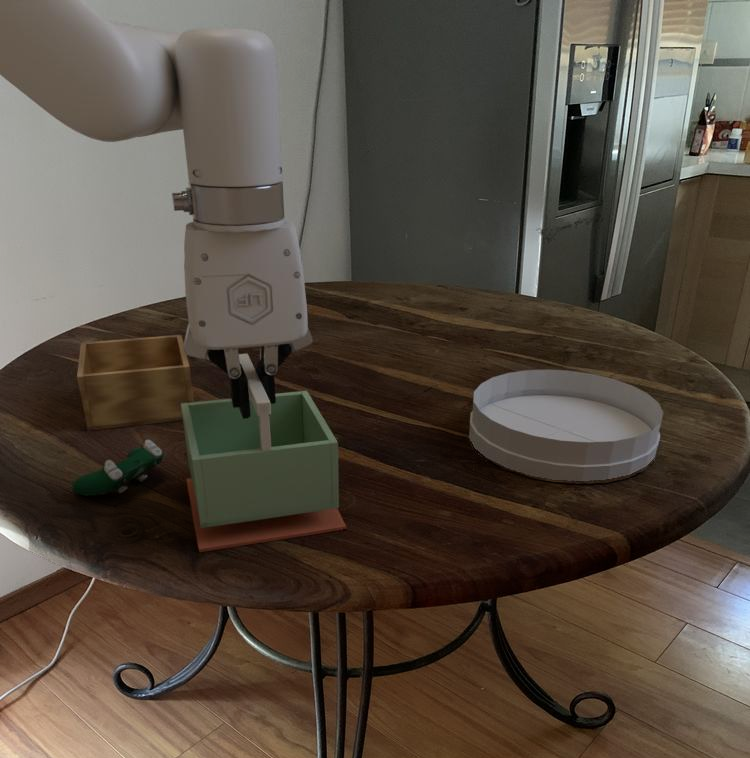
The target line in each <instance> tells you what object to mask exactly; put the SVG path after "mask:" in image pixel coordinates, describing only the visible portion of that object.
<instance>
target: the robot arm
mask: <svg viewBox="0 0 750 758" xmlns="http://www.w3.org/2000/svg"><path fill="white" fill-rule="evenodd" d="M277 61H278V60H277V53H276V49H275V45H274V43H273V41H272V40H271V38H270V37H269V36H268V35H267V34H266V33H264V32H262V31H260V30H257V29H251V28H239V27H238V28H236V27H198V28H197V27H196V28H191V29H190V28H189V29H187V30H185V31H183V32H181V33H178V32H171V31H164V30H161V29H160V30H159V29H155V28H149V27H145V26H144V27H143V26H138V25H134V24H129V23H124V22H120V21H119V22H118V21H112V20H108V19H106V18H105V17H104V16H102V15H101V14H100V13H98V12H97V11H96V10H95V9H94V8H92V7H91V6H90V5H88V4H87V3H86V2H85V1H84V0H0V76H1V77H2V78H3V79H5V80H6V81H7V82H8V83H10V84H11V85H12V86H14V87H15V88H16V89H18V91H20V92H21V93H23V94H24V95H25V96H26V97H27V98H29V99H30V100H31V101H32V102H34V103H35V104H36V105H38V107H40V108H42V110H44V111H45V112H46V113H48V114H49V115H50V116H51V117H53V118H54V119H55V120H57V121H59V122H60V123H62V124H63V125H64V126H66V127H68V128H69V129H71V130H73V131H74V132H76V133H78V134H80V135H83V136H84V137H87V138H90V139H91V140H92V139H93V140H96V141H101V142H105V143H106V142H107V143H116V142H122V141H127V140H132V139H135V138H141V137H142V138H143V137H148V136H153V135H157V134H161V133H168V132H173V131H181V130H183V141H184V149H185V151H184V152H185V159H186V169H187V177H188V182H187V183H188V187H185V190H181V191H180V192H172V193H171V197H172V206H173V212H177V211H179V212H180V211H183V213H188V214H189V216H192V221H190V222H188V223H186V225H185V230H184V240H183V241H184V243H183V245H184V246H183V250H184V252H183V253H184V261H183V262H184V264H183V265H184V267H183V269H184V270H183V271H184V272H183V273H184V289H185V304H186V315H187V321H188V323H187V328H186V331H185V336H184V339H183V343H184V344H183V348H184V352H185V354H186V355H187V357H192V358H195V359H200V360H204V361H205V360H206V361H209V362H211V363H212V364H214V365H215V366H217V367H218V368H219V369H221V370H222V371H223V372H224V373H225V374H227V375H228V377H229V378H228V379H229V387H230V397H231V398H230V399H231V400H232V405H233V408H237V407H239V409H240V412H241V415H242V417H243V419H247V418H249V417H251V414H250V402H249V393H248V379H247V377H246V375H245V372H244V370H243V367H242V365H241V364H240V360H239V354H240V353H239V349H244V348H245V349H246V348H256V347H257V348H258V347H259V361H258V362H257V365H256V368H255V367H254V369H255V371H256V373H257V375H258V377H259V379H260V381H261V383H262V386H263V388H264V390H265V392H266V394H267V396H268V398H269V400H270V404H274V403H276V396H275V394H276V383H275V381H276V380H275V375H276V374H277V373H278V371H279V368H280V366H281V365H282V364H284V362H285V361H286V360H287V359H288V357H289V356H290V355H291V354H292V353H294V352H298V351H301V350H303V349H305V348H307V347H310V346H311V345H312V344H313V342H314V338H313V335H312V333H311V330H310V328H309V325H308V324H309V318H308V305H307V296H306V285H305V276H304V275H305V274H304V267H303V261H302V253H301V247H300V243H299V238H298V237H299V236H298V233H297V228H296V225H295V223H294V222H292V221H291V220H289V219H286V218H285V202H284V201H285V199H284V182H283V179H284V178H283V162H282V143H281V142H282V141H281V123H280V122H281V121H280V103H279V102H280V101H279V80H278V63H277ZM270 415H271V414H270ZM270 415H269V416H270Z"/></svg>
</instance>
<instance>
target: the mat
mask: <svg viewBox="0 0 750 758" xmlns="http://www.w3.org/2000/svg"><path fill="white" fill-rule="evenodd" d="M185 480H186V486H187V491H188V497H189V502H190V509H191V514H192V521H193V526H194V532H195V536H196V543H197V548H198V552H199V553H204V552H210V551H217V550H218V551H219V550H224V549H231V548H237V547H243V546H250V545H255V544H256V545H257V544H261V543H268V542H269V543H270V542H276V541H281V540H287V539H293V538H300V537H307V536H313V535H319V534H326V533H333V532H339V530H340V531H344V530H343V529H346V530H347V525H346V523H345V521H344V519H343V518H342V515H341V513H340V511H339V508H335V509H328V510H322V511H315V512H308V513H301V514H294V515H288V516H281V517H274V518H267V519H260V520H253V521H247V522H240V523H233V524H226V525H219V526H213V527H206V528H201V526H200V521H199V516H198V510H197V505H196V500H195V495H194V489H193V484H192V479H191V477H189V478H186V479H185ZM332 531H333V532H332Z"/></svg>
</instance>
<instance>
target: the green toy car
mask: <svg viewBox="0 0 750 758" xmlns="http://www.w3.org/2000/svg"><path fill="white" fill-rule="evenodd" d="M163 458H164V453H163V451H162V449H161V448H160V447H159V446H158V445H157V444H155V443H154V442H153V441H152V440H150V439H146V440H144V444H142V445H141V446H140V447H134V448H133V449H130V451H129V452H128V453H127V457H126V458H124V459H123V460H121V461H119V462H118V463H115V462H114V461H113V460H112V459H107V460H106V461H104V465H103V466H102V468H101V469H99V470H96V471H93V472H90V473H87V474H83V475H82V476H79V477H77V478H76V479H75V480H74V481H73V482H72V488H71V491H72V493H73V494H76V495H79V496H90V497H92V496H99V495H103V494H108V493H113V492H114V493H118V494H122V493H124V492H125V491H126V490H128V486H127V485H128V482H129V481H132V480H135V481H138V482H139V483H140V482H143V481H145V480H146V479H147V478H148V471H150V470H153V469H154V468H156V466H157V465H160V464H161V463H162V462H163Z"/></svg>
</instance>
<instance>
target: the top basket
mask: <svg viewBox="0 0 750 758" xmlns="http://www.w3.org/2000/svg"><path fill="white" fill-rule="evenodd" d="M239 360H240V364H241V365H242V367H243V370H244V372H245V375H246V377H247V379H248V393H249V402H250V414H251V417H249V418H247V419H243V417H242V415H241V412H240V409H239V407H237V408H233V405H232V400H231V398H223V399H222V398H221V399H213V400H203V401H202V400H201V401H194V402H192V403H182V404H181V410H182V417H183V420H182V424H183V431H184V432H183V433H184V440H185V447H186V454H187V462H188V469H189V473H190V478H191V479H192V484H193V489H194V495H195V500H196V505H197V510H198V516H199V521H200V526H201V528H206V527H213V526H219V525H226V524H233V523H240V522H247V521H253V520H260V519H267V518H274V517H281V516H288V515H294V514H301V513H308V512H315V511H322V510H328V509H335V508H337V509H339V508H340V492H339V491H340V490H339V489H340V487H339V483H340V482H339V442H338V440H337V439H336V437H335V435H334V433H333V432H332V430H331V428H330V427H329V425H328V424H327V422H326V420H325V419H324V417H323V415H322V413H321V412H320V411H319V408H318V407H317V405H316V403H315V402H314V401H313V399H312V396H311V395H310V393H309V392H308V390H299V391H290V392H282V393H281V392H280V393H275V396H276V403H274V404H270V400H269V398H268V396H267V394H266V392H265V390H264V388H263V386H262V383H261V381H260V379H259V377H258V375H257V373H256V371H255V366H254V364H253V362H252V360H251V358H250V355H249V354H248V353H239ZM270 414H271V415H270ZM269 415H270V416H269Z"/></svg>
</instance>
